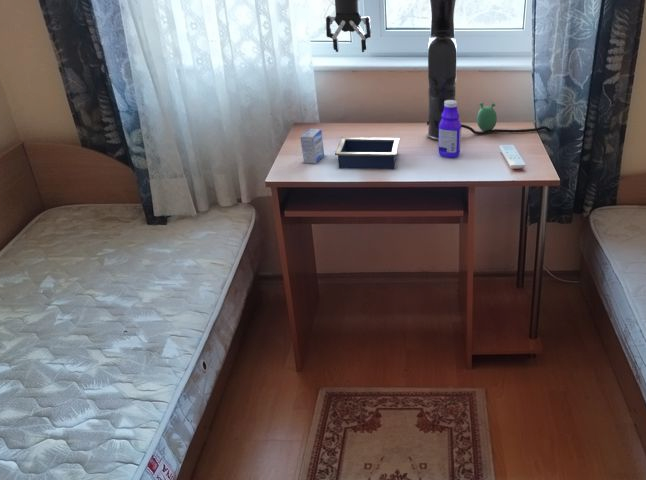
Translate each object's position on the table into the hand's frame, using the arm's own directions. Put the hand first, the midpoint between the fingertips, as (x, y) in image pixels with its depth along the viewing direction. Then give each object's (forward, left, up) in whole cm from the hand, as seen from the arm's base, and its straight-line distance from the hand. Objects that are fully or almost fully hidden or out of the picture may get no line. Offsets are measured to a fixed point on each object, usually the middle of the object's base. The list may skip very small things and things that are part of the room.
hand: (350, 51), depth 217 cm
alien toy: (-46, -9, -28) cm, 55 cm away
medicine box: (+11, +22, -28) cm, 37 cm away
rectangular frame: (-7, +23, -28) cm, 37 cm away
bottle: (-33, +17, -28) cm, 47 cm away
